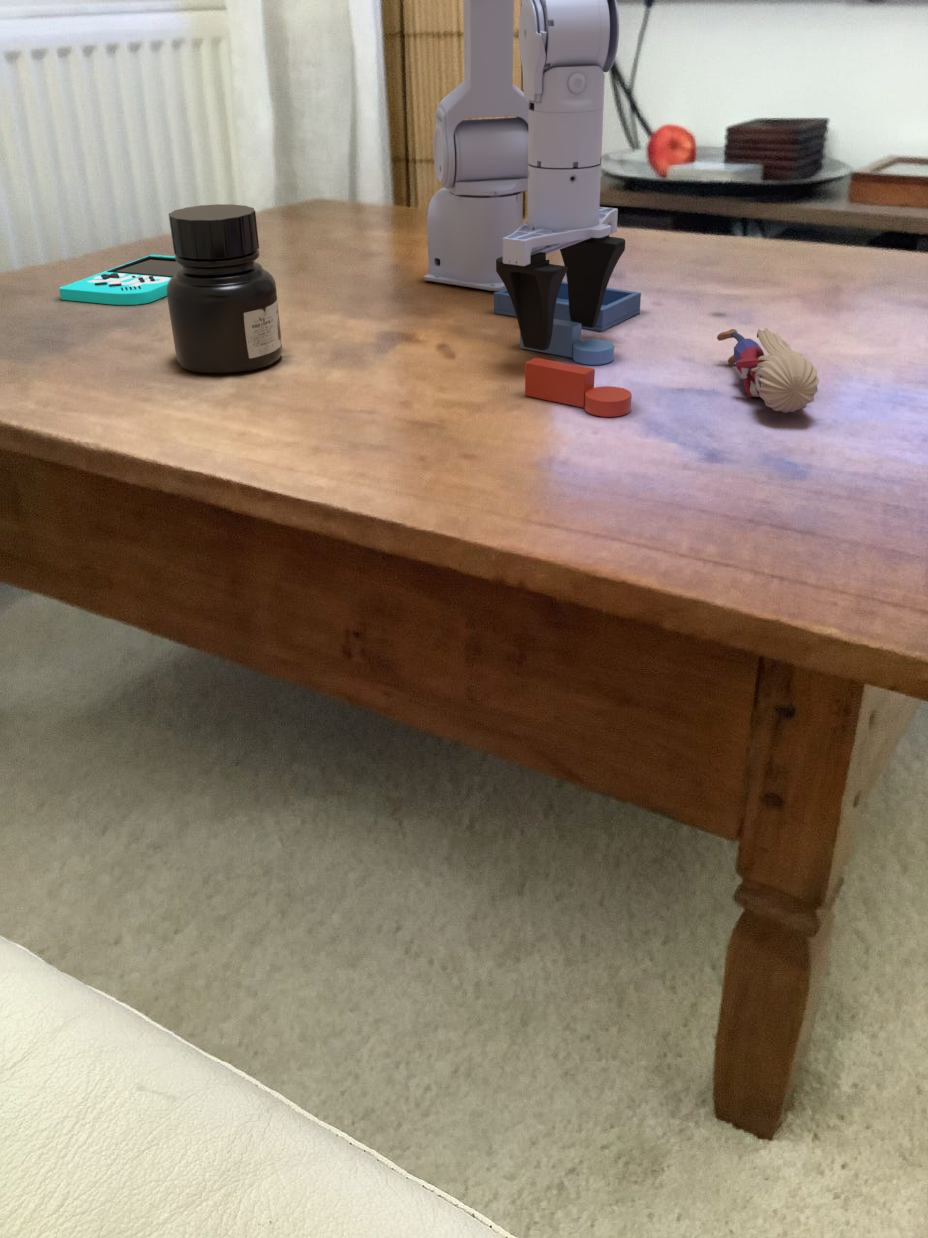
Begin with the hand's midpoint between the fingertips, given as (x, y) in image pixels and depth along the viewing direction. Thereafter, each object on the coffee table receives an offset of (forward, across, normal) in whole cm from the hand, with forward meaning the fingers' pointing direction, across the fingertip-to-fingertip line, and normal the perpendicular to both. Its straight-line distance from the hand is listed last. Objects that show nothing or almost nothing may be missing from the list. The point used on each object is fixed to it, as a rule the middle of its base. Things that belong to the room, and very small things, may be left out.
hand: (560, 336), depth 95 cm
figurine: (+2, 0, -18) cm, 19 cm away
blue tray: (+1, +11, +6) cm, 13 cm away
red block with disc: (+1, -10, -7) cm, 12 cm away
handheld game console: (+2, -2, +50) cm, 50 cm away
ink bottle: (+2, -16, +22) cm, 28 cm away
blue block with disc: (+1, 0, 0) cm, 1 cm away
